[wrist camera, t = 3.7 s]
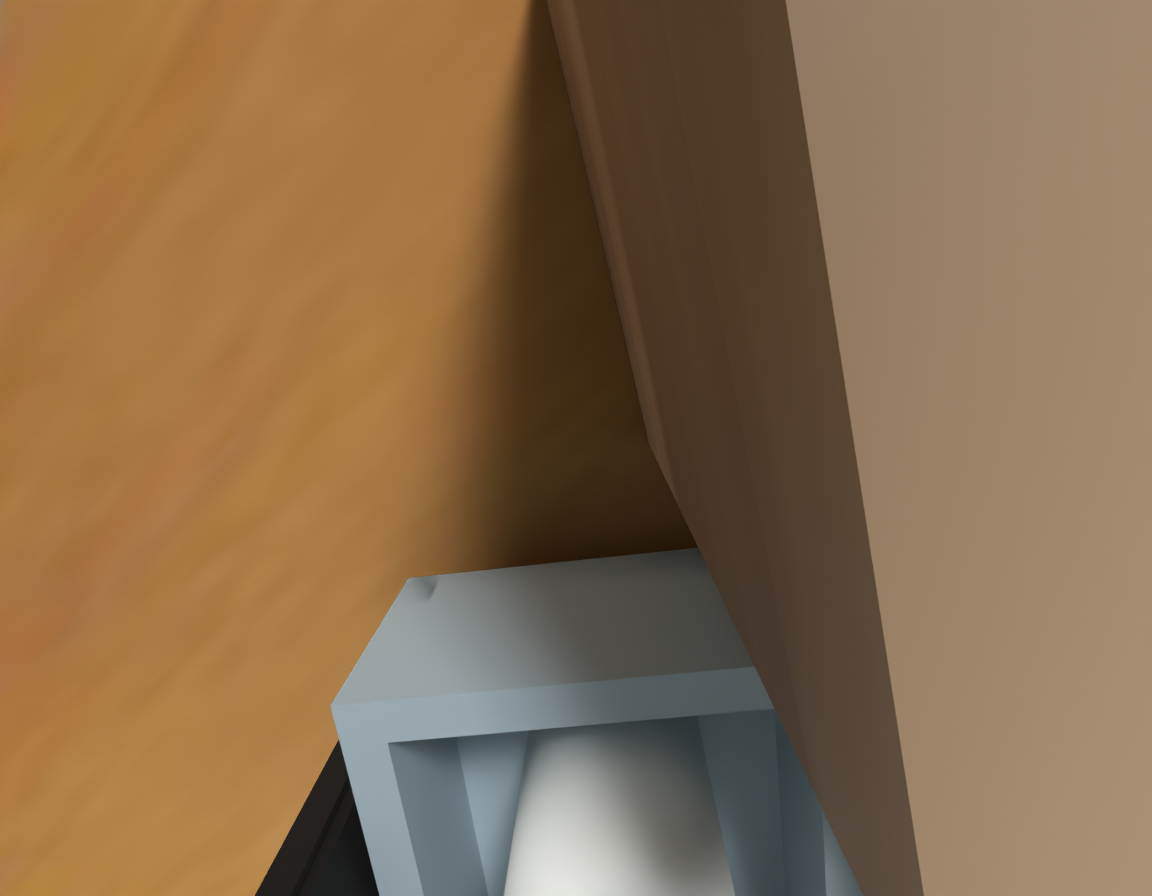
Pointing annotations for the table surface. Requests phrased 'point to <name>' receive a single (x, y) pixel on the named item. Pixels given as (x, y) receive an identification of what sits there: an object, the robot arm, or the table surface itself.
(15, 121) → the table surface
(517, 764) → the tray
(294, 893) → the robot arm
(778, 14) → the wooden footstool
